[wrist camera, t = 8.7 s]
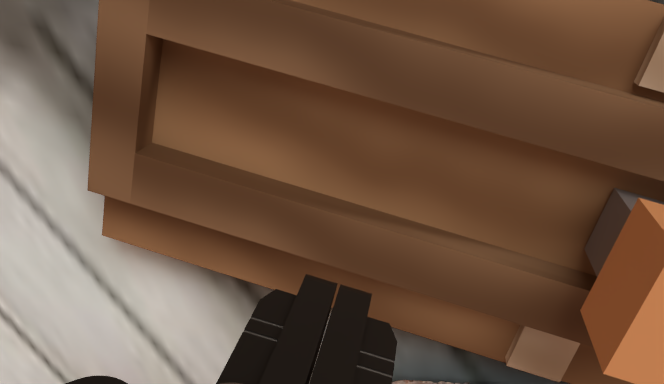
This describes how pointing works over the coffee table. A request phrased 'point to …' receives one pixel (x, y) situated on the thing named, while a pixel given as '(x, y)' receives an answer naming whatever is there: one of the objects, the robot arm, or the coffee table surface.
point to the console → (387, 152)
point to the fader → (628, 288)
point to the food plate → (422, 382)
